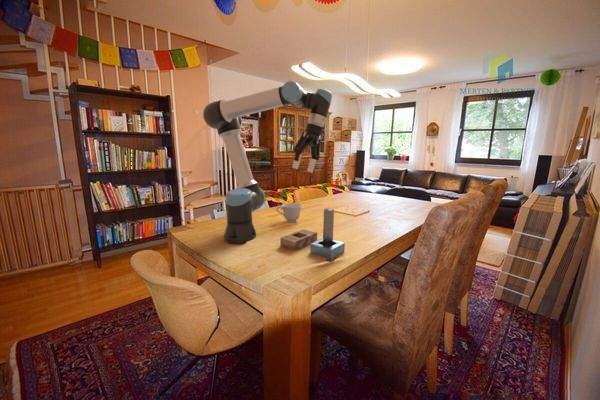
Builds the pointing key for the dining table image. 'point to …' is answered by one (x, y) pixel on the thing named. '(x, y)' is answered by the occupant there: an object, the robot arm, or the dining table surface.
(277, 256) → the dining table surface
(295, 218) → the teacup
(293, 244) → the brown rectangular block
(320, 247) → the socket block
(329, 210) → the grey brown square post
